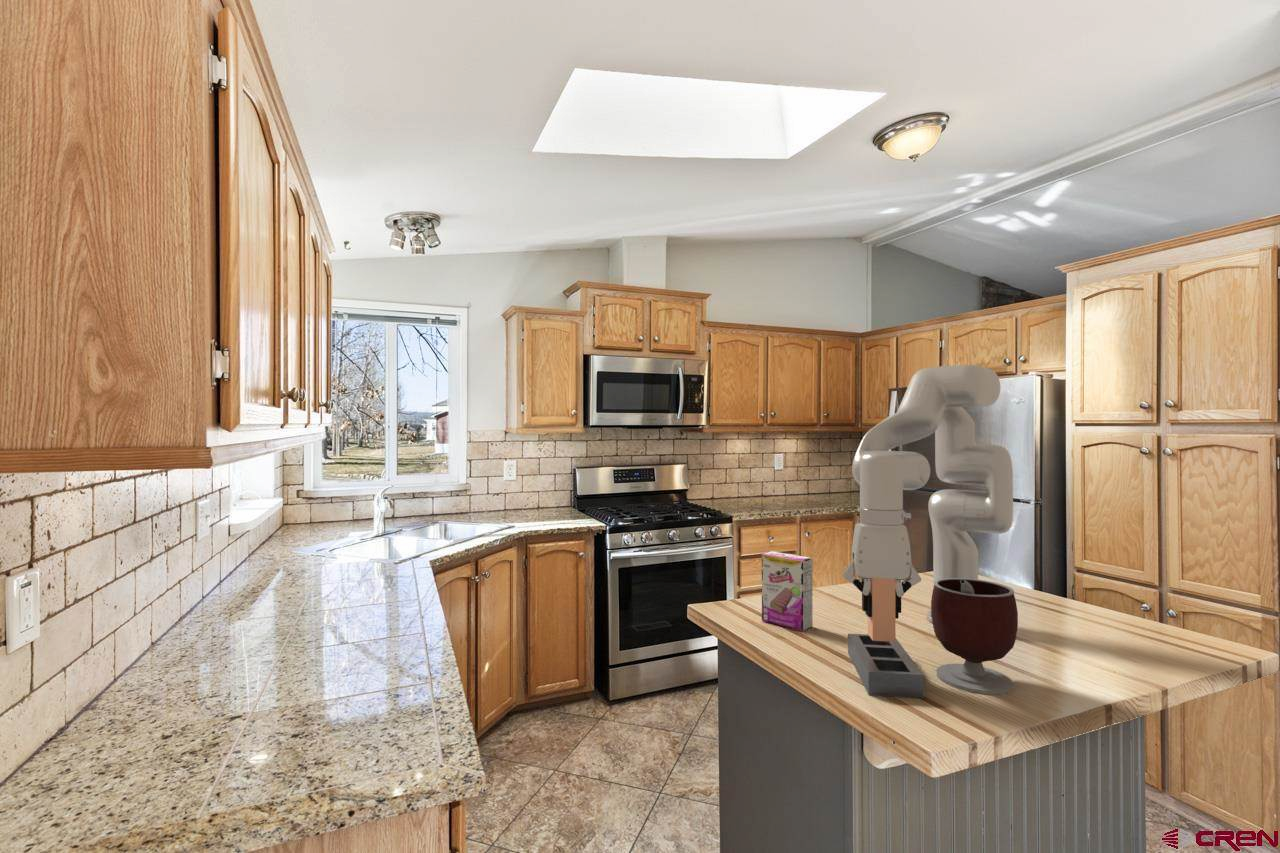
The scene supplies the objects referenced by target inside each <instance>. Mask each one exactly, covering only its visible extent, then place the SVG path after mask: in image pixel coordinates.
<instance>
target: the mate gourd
mask: <svg viewBox="0 0 1280 853" xmlns="http://www.w3.org/2000/svg"><path fill="white" fill-rule="evenodd" d="M932 589H933V590H932V594H931V600H930V606H931V607H930V611H931V617H932V622H931V623H932V628H933V631H934V635H935V637H936V638H937V640H938V642H940V644H941V645H942V647H943V648H944V649H945V650H946V651H947V652H950V653H951V654H953V655H956V656H957V657H960V658H962V659H964V660H965V661H964V663H947V664H943V665H939V666H938V667H937V669H936V670H935V671H936V678H938V679H939V680H940V681H941V682H942V683H944V684H945V685H947V686H949V687H952V688H955V689H958V690H961V691H965V692H969V693H975V694H979V693H980V694H979V695H990V694H992V696H993V694H997V695H1004V694H1003V693H1005V694H1008V693H1010V692H1012V691H1011V690H1013V689H1014V681H1013V680H1012V679H1011V678H1010V677H1009V676H1008V675H1006V674H1004V673H1002V672H1000V671H998V670H995V669H992V668H988V667H986V666H984V665H983V663H984V662H990V661H991V662H992V661H996V660H1001V659H1003V658H1004V657H1005V656H1006V655H1007V654H1009V652H1010V651H1011V650H1012V649H1013V648H1014V646H1015V643H1016V640H1017V633H1018V627H1019V624H1018V623H1019V616H1018V615H1019V614H1018V613H1019V612H1018V606H1017V601H1016V600H1017V599H1016V597H1015V596H1016V595H1015V590H1014V589H1013V588H1011V587H1010V586H1008V585H1004V584H1002V583H998V582H993V581H988V580H983V579H978V580H977V579H966V578H945V579H939V580H936V581H935V582H934V581H933V588H932ZM1009 691H1010V692H1009ZM1007 692H1008V693H1007Z"/></svg>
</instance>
